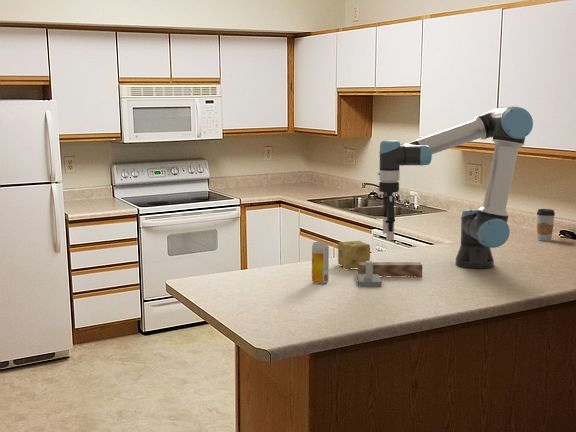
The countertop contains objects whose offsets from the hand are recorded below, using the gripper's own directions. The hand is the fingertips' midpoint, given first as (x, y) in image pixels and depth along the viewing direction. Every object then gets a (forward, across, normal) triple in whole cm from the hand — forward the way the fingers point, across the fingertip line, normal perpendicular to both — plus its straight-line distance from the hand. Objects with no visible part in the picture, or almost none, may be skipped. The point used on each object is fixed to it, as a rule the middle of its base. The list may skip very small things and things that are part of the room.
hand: (388, 236), depth 263 cm
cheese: (+15, -14, -12) cm, 24 cm away
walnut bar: (+15, 0, +1) cm, 16 cm away
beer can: (+15, +13, -26) cm, 33 cm away
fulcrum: (+15, +13, -8) cm, 21 cm away
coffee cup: (+15, -74, +84) cm, 113 cm away
